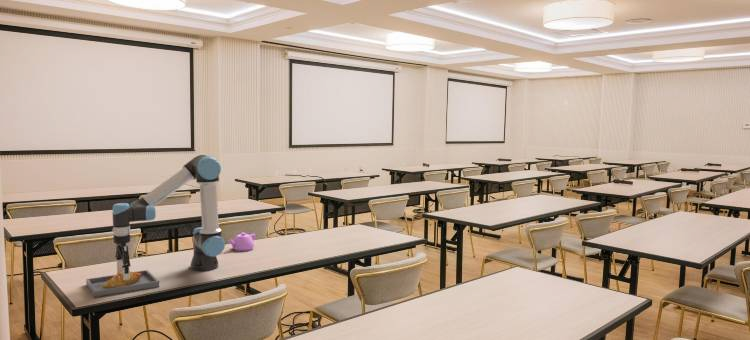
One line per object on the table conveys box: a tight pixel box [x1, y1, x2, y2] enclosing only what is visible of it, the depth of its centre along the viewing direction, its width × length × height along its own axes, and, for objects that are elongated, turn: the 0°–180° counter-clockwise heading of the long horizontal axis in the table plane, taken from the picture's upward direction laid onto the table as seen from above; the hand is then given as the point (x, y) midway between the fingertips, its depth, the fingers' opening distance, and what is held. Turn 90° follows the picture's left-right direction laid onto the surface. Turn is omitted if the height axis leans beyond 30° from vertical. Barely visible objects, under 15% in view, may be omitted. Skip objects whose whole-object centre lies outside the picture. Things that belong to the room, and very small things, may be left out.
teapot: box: [227, 232, 256, 252], centre depth 337 cm, size 14×20×11 cm
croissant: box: [102, 270, 142, 288], centre depth 261 cm, size 21×10×8 cm, turn 150°
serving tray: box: [85, 269, 160, 299], centre depth 261 cm, size 29×22×3 cm
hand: (123, 275), depth 261 cm, fingers open, 13 cm apart
